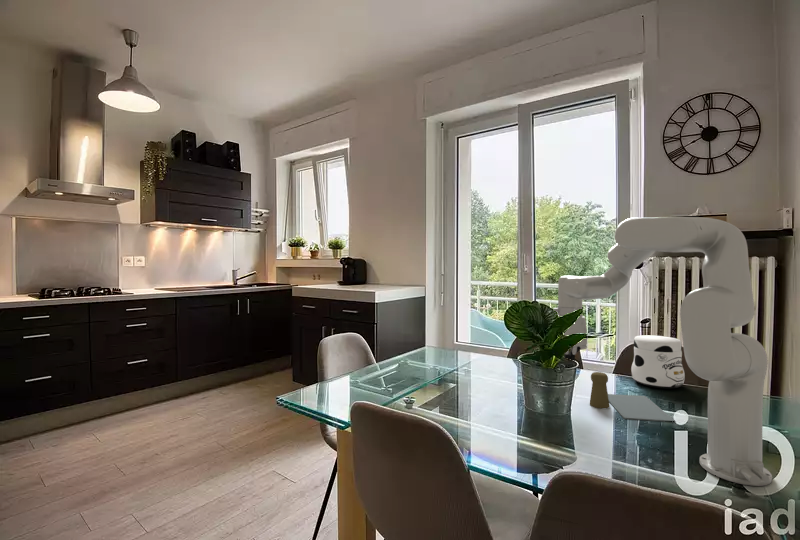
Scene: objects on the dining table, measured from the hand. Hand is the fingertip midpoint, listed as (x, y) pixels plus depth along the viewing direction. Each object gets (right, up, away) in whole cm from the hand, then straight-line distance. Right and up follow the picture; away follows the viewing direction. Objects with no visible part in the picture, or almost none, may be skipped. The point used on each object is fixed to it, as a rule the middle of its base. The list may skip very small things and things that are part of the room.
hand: (569, 365), depth 133 cm
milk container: (+42, -12, +18) cm, 48 cm away
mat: (+20, -13, -4) cm, 24 cm away
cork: (+9, -13, -2) cm, 16 cm away
